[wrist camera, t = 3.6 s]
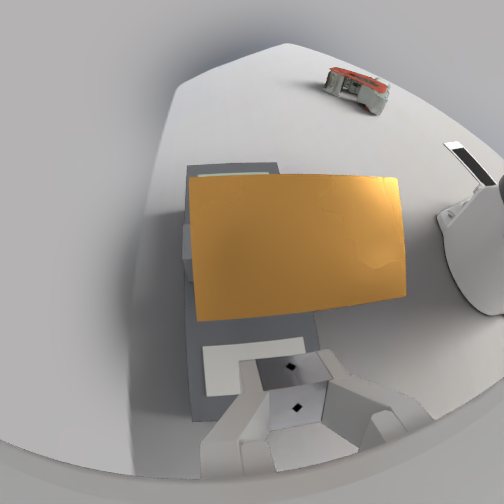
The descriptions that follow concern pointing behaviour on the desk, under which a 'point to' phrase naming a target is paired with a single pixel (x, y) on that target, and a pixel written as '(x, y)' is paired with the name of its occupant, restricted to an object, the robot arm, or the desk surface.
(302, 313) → the block
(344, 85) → the tape dispenser
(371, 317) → the desk surface
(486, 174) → the cell phone
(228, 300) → the lever
